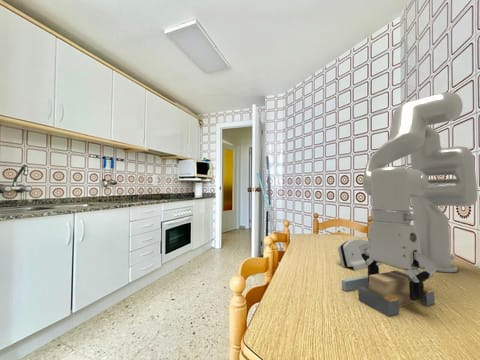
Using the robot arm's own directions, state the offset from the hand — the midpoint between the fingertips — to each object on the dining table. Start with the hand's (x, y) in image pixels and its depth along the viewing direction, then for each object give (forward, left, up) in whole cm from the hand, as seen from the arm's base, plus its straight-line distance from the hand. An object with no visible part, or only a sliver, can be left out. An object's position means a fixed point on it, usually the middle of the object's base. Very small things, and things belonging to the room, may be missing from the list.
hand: (393, 289), depth 49 cm
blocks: (0, 0, -3) cm, 3 cm away
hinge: (-16, -23, -3) cm, 28 cm away
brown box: (0, 0, -3) cm, 3 cm away
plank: (0, -8, -3) cm, 8 cm away
